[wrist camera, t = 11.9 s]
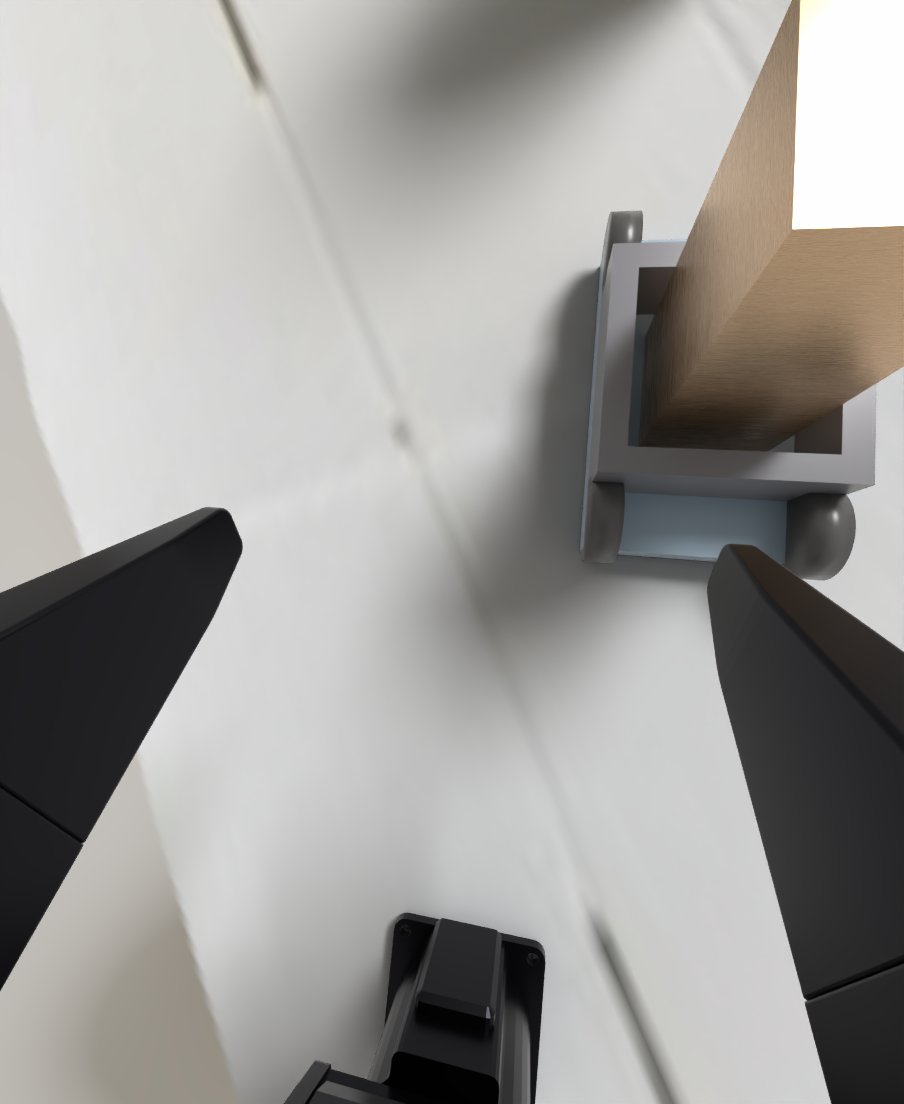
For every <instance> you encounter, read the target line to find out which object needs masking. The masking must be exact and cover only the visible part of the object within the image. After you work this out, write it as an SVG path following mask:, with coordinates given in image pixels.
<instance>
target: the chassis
mask: <svg viewBox="0 0 904 1104" xmlns="http://www.w3.org/2000/svg"><path fill="white" fill-rule="evenodd" d="M642 230H643V213H642V211H620V212H611V213H610V215H609V219H608V223H607V228H606V234H605V240H604V246H603V253H602V260H601V265H600V278H599V291H598V305H597V319H596V333H595V347H594V361H593V375H592V388H591V402H590V416H589V430H588V444H587V458H586V472H585V485H584V499H583V513H582V527H581V541H580V551H581V558H582V561H586V562H599V563H611V564H613V563H614V562H615V560H616V558H617V555H618V554H620V555H633V556H646V557H659V558H672V559H685V560H698V561H711V562H716V561H717V559H718V556H719V554H720V551H721V549H722V548H723V547H724V546H725V545H727V544H730V543H731V544H746V545H753V546H755V547H757V548H759V549H760V550H761V551H763V552H764V553H766V554H767V555H768V556H770V557H771V558H773V559H774V560H775V561H777V562H778V563H780V564H781V565H782V566H784V567H785V568H787V569H788V570H790V571H791V572H792V573H794V574H795V575H797V576H798V577H799V578H801V579H810V580H827V579H830V578H832V577H833V576H835V575H836V574H837V573H838V572H839V571H840V570H841V569H842V568H843V566H844V565H845V563H846V562H847V560H848V558H849V556H850V553H851V550H852V547H853V543H854V539H855V530H856V521H855V514H854V509H853V506H852V503H851V501H850V500H849V498H848V497H847V495H846V494H849V493H852V492H855V491H858V490H861V489H864V488H867V487H870V486H873V485H875V436H876V384H874V385H873V386H871V387H870V388H868V389H867V390H865V391H863V392H862V393H860V394H859V395H857V396H855V397H854V398H852V399H851V400H849V401H847V402H846V403H844V404H843V405H841V406H839V407H838V408H836V409H835V410H833V411H831V412H830V413H828V414H827V415H825V416H824V417H822V418H820V419H819V420H817V421H816V422H814V423H812V424H811V425H809V426H808V427H806V428H804V429H803V430H801V431H800V432H798V433H796V434H795V435H793V436H792V437H790V438H788V439H787V440H785V441H784V442H782V443H781V444H779V445H777V446H776V447H774V448H773V449H771V450H769V451H768V452H762V451H736V450H711V449H686V448H660V447H638V443H639V427H640V411H641V395H642V379H643V363H644V347H645V335H646V333H647V331H648V329H649V326H650V324H651V322H652V319H653V317H654V315H655V313H656V310H657V308H658V306H659V303H660V301H661V299H662V297H663V294H664V292H665V290H666V287H667V285H668V283H669V281H670V278H671V276H672V274H673V271H674V269H675V267H676V265H677V262H678V260H679V258H680V255H681V253H682V251H683V249H684V246H685V244H686V242H687V239H673V240H642Z"/></svg>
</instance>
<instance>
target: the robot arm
mask: <svg viewBox="0 0 904 1104" xmlns="http://www.w3.org/2000/svg"><path fill="white" fill-rule="evenodd" d="M242 549H243V545H242V540H241V538H240V535H239V533H238V530H237V528H236V526H235V523H234V521H233V519H232V516H231V514H230V513H229V512H228V511H227V510H226V509H224V508H213V507H205V508H202V509H199V510H197V511H194V512H192V513H190V514H187V515H185V516H182V517H180V518H178V519H175V520H173V521H171V522H168V523H166V524H163V525H161V526H159V527H156V528H154V529H152V530H149V531H147V532H144V533H142V534H140V535H137V536H135V537H132V538H130V539H128V540H125V541H123V542H121V543H118V544H116V545H113V546H111V547H109V548H106V549H104V550H101V551H99V552H97V553H94V554H92V555H90V556H87V557H85V558H82V559H80V560H78V561H75V562H73V563H71V564H68V565H66V566H63V567H61V568H59V569H56V570H54V571H51V572H49V573H47V574H44V575H42V576H40V577H37V578H35V579H33V580H30V581H28V582H25V583H23V584H21V585H18V586H16V587H13V588H11V589H9V590H6V591H4V592H1V593H0V990H1V989H2V987H3V985H4V984H5V982H6V980H7V978H8V977H9V975H10V973H11V971H12V969H13V968H14V966H15V964H16V962H17V961H18V959H19V957H20V956H21V954H22V952H23V950H24V948H25V947H26V945H27V943H28V942H29V940H30V938H31V936H32V935H33V933H34V931H35V929H36V927H37V926H38V924H39V922H40V921H41V919H42V917H43V915H44V914H45V912H46V910H47V908H48V907H49V905H50V903H51V901H52V899H53V898H54V896H55V894H56V892H57V891H58V889H59V887H60V886H61V884H62V882H63V880H64V879H65V877H66V875H67V873H68V872H69V870H70V868H71V866H72V865H73V863H74V861H75V859H76V858H77V856H78V854H79V852H80V851H81V849H82V847H83V843H84V842H85V841H86V839H87V838H88V836H89V834H90V832H91V831H92V829H93V827H94V825H95V824H96V822H97V820H98V818H99V817H100V815H101V813H102V811H103V810H104V808H105V806H106V804H107V803H108V801H109V799H110V797H111V796H112V794H113V792H114V790H115V789H116V787H117V785H118V783H119V782H120V780H121V778H122V776H123V775H124V773H125V771H126V769H127V768H128V766H129V764H130V762H131V761H132V759H133V757H134V755H135V754H136V752H137V750H138V749H139V747H140V745H141V743H142V742H143V740H144V738H145V736H146V735H147V733H148V731H149V729H150V728H151V726H152V724H153V722H154V721H155V719H156V717H157V715H158V714H159V712H160V710H161V708H162V707H163V705H164V703H165V701H166V700H167V698H168V696H169V694H170V693H171V691H172V689H173V687H174V686H175V684H176V682H177V680H178V679H179V677H180V675H181V673H182V672H183V670H184V668H185V666H186V665H187V663H188V661H189V659H190V658H191V656H192V654H193V652H194V651H195V649H196V647H197V645H198V644H199V642H200V640H201V638H202V637H203V635H204V633H205V631H206V630H207V628H208V626H209V624H210V622H211V621H212V619H213V617H214V615H215V613H216V610H217V608H218V606H219V604H220V602H221V599H222V597H223V595H224V593H225V590H226V588H227V586H228V583H229V581H230V579H231V577H232V574H233V572H234V570H235V568H236V565H237V563H238V561H239V558H240V556H241V554H242ZM707 595H708V603H709V611H710V619H711V626H712V634H713V642H714V649H715V657H716V664H717V670H718V676H719V680H720V684H721V688H722V692H723V696H724V700H725V703H726V707H727V711H728V715H729V718H730V722H731V726H732V730H733V734H734V737H735V741H736V745H737V749H738V752H739V756H740V760H741V764H742V767H743V771H744V775H745V779H746V782H747V786H748V790H749V794H750V798H751V801H752V805H753V809H754V813H755V816H756V820H757V824H758V828H759V831H760V835H761V839H762V843H763V847H764V850H765V854H766V858H767V862H768V865H769V869H770V873H771V877H772V880H773V884H774V888H775V892H776V896H777V899H778V903H779V907H780V911H781V914H782V918H783V922H784V926H785V929H786V933H787V937H788V941H789V944H790V948H791V952H792V956H793V960H794V963H795V967H796V971H797V975H798V978H799V982H800V986H801V990H802V993H803V997H804V998H805V999H806V1000H807V1001H805V1006H806V1010H807V1014H808V1018H809V1021H810V1025H811V1029H812V1033H813V1037H814V1040H815V1044H816V1048H817V1052H818V1055H819V1059H820V1063H821V1067H822V1070H823V1074H824V1078H825V1082H826V1086H827V1089H828V1093H829V1097H830V1101H831V1104H904V652H903V651H902V650H900V649H899V648H898V647H896V646H895V645H893V644H892V643H891V642H889V641H888V640H886V639H885V638H884V637H882V636H881V635H879V634H878V633H877V632H875V631H874V630H872V629H871V628H870V627H868V626H867V625H865V624H864V623H863V622H861V621H860V620H858V619H857V618H856V617H854V616H853V615H851V614H850V613H849V612H847V611H846V610H844V609H843V608H841V607H840V606H839V605H837V604H836V603H834V602H833V601H832V600H830V599H829V598H827V597H826V596H825V595H823V594H822V593H820V592H819V591H818V590H816V589H815V588H813V587H812V586H811V585H809V584H808V583H806V582H805V581H804V580H802V579H801V578H799V577H798V576H797V575H795V574H794V573H792V572H791V571H790V570H788V569H787V568H785V567H784V566H782V565H781V564H780V563H778V562H777V561H775V560H774V559H773V558H771V557H770V556H768V555H767V554H766V553H764V552H763V551H761V550H760V549H759V548H757V547H755V546H753V545H746V544H731V543H730V544H727V545H725V546H724V547H723V548H722V549H721V551H720V554H719V556H718V559H717V561H716V564H715V566H714V569H713V571H712V574H711V576H710V578H709V581H708V587H707ZM402 925H408V926H409V927H410V929H411V930H410V931H406V930H404V928H403V927H402ZM530 953H534V954H536V955H537V956H538V958H536V959H531V958H529V956H528V955H529V954H530ZM544 973H545V952H544V949H543V947H542V945H541V944H540V943H539V942H537V941H535V940H531V939H527V938H522V937H517V936H513V935H508V934H504V933H499V932H498V931H497V930H495V929H490V928H485V927H481V926H476V925H472V924H467V923H462V922H458V921H453V920H449V919H444V918H442V919H440V920H439V919H435V918H430V917H426V916H421V915H416V914H412V913H403V914H401V915H400V916H399V918H398V920H397V922H396V924H395V928H394V937H393V947H392V957H391V967H390V977H389V987H388V997H387V1007H386V1017H385V1027H384V1031H383V1034H382V1037H381V1040H380V1043H379V1045H378V1048H377V1051H376V1054H375V1057H374V1060H373V1063H372V1066H371V1069H370V1072H369V1075H368V1078H367V1079H363V1078H360V1077H356V1076H353V1075H349V1074H346V1073H342V1072H339V1071H335V1070H332V1069H331V1064H328V1063H324V1062H321V1061H317V1060H316V1061H315V1062H314V1063H313V1064H312V1066H311V1067H310V1069H309V1070H308V1071H307V1073H306V1074H305V1076H304V1077H303V1078H302V1080H301V1081H300V1082H299V1083H298V1085H297V1086H296V1087H295V1089H294V1090H293V1092H292V1093H291V1094H290V1096H289V1097H288V1099H287V1100H286V1101H285V1103H284V1104H535V1096H536V1082H537V1068H538V1055H539V1041H540V1027H541V1014H542V1000H543V986H544Z"/></svg>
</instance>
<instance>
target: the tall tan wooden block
mask: <svg viewBox="0 0 904 1104" xmlns="http://www.w3.org/2000/svg"><path fill="white" fill-rule="evenodd" d="M903 366H904V0H792V1H791V4H790V6H789V8H788V11H787V13H786V15H785V17H784V20H783V22H782V24H781V27H780V29H779V31H778V33H777V36H776V38H775V40H774V43H773V45H772V47H771V49H770V52H769V54H768V56H767V59H766V61H765V63H764V65H763V68H762V70H761V72H760V75H759V77H758V79H757V82H756V84H755V86H754V88H753V91H752V93H751V95H750V98H749V100H748V102H747V104H746V107H745V109H744V111H743V114H742V116H741V118H740V120H739V123H738V125H737V127H736V130H735V132H734V134H733V136H732V139H731V141H730V143H729V146H728V148H727V150H726V152H725V155H724V157H723V159H722V162H721V164H720V166H719V168H718V171H717V173H716V175H715V178H714V180H713V182H712V184H711V187H710V189H709V191H708V194H707V196H706V198H705V200H704V203H703V205H702V207H701V210H700V212H699V214H698V217H697V219H696V221H695V223H694V226H693V228H692V230H691V233H690V235H689V237H688V239H687V242H686V244H685V246H684V249H683V251H682V253H681V255H680V258H679V260H678V262H677V265H676V267H675V269H674V271H673V274H672V276H671V278H670V281H669V283H668V285H667V287H666V290H665V292H664V294H663V297H662V299H661V301H660V303H659V306H658V308H657V310H656V313H655V315H654V317H653V319H652V322H651V324H650V326H649V329H648V331H647V333H646V335H645V347H644V363H643V379H642V395H641V411H640V427H639V443H638V447H660V448H686V449H711V450H736V451H762V452H768V451H769V450H771V449H773V448H774V447H776V446H777V445H779V444H781V443H782V442H784V441H785V440H787V439H788V438H790V437H792V436H793V435H795V434H796V433H798V432H800V431H801V430H803V429H804V428H806V427H808V426H809V425H811V424H812V423H814V422H816V421H817V420H819V419H820V418H822V417H824V416H825V415H827V414H828V413H830V412H831V411H833V410H835V409H836V408H838V407H839V406H841V405H843V404H844V403H846V402H847V401H849V400H851V399H852V398H854V397H855V396H857V395H859V394H860V393H862V392H863V391H865V390H867V389H868V388H870V387H871V386H873V385H874V384H876V383H878V382H879V381H881V380H882V379H884V378H886V377H887V376H889V375H890V374H892V373H894V372H895V371H897V370H898V369H900V368H902V367H903Z"/></svg>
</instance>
